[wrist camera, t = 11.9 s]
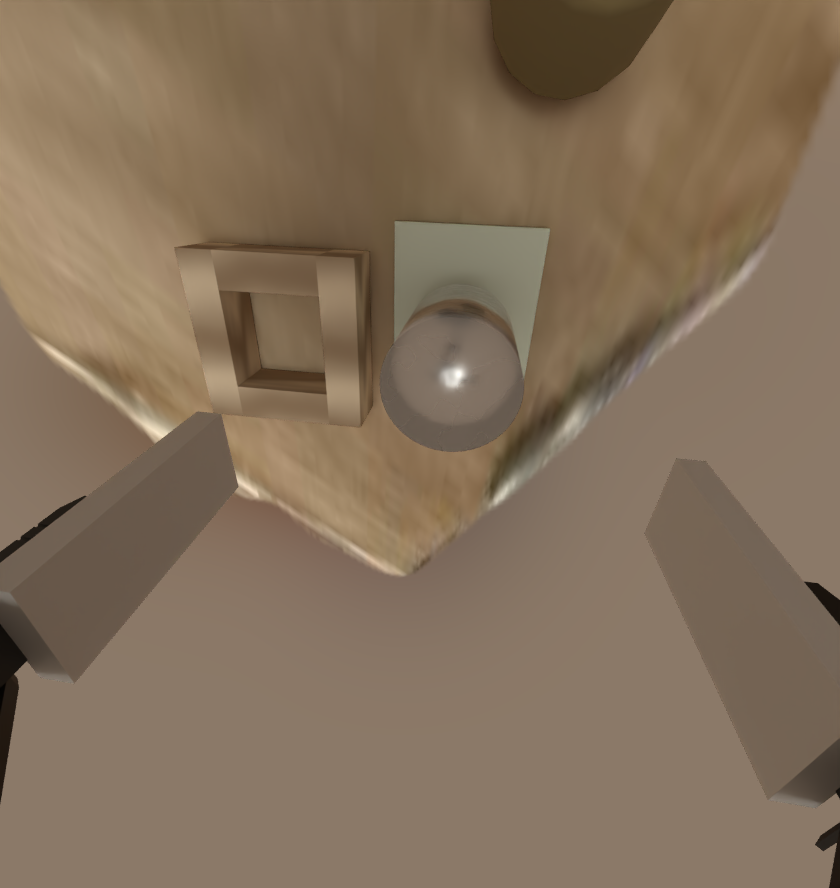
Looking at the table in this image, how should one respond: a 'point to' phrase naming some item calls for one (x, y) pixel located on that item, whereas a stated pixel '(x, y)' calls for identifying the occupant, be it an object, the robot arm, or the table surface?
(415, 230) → the mat
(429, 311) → the metal cylinder
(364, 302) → the bore block
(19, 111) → the table surface
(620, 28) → the squeeze bottle
